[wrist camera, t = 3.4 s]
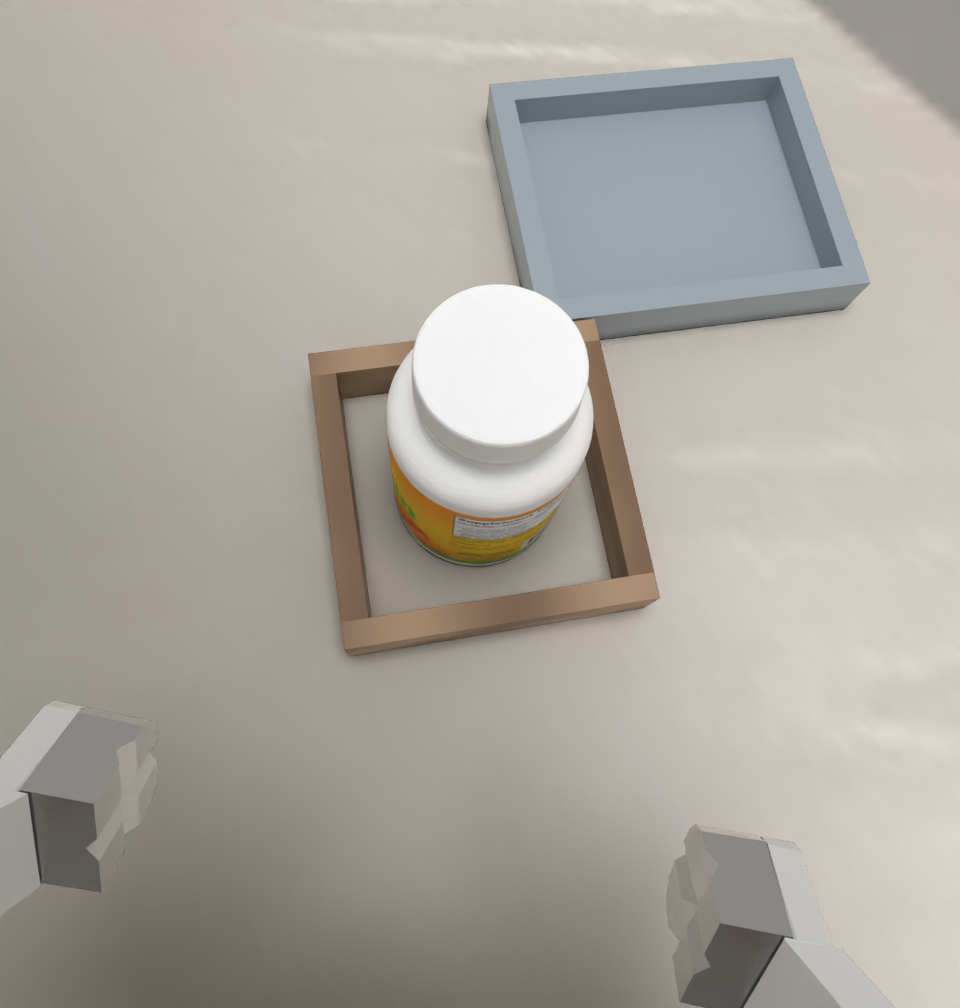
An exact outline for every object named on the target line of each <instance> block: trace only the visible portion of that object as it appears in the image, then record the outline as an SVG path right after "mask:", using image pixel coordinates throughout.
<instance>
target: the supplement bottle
mask: <svg viewBox="0 0 960 1008" xmlns="http://www.w3.org/2000/svg"><path fill="white" fill-rule="evenodd" d="M588 378H589V360H588V354H587V349H586V346H585V343H584V340H583V338H582V335H581V333H580V331H579V330H578V328H577V326H576V325H575V324H574V322H573V321H572V319H571V318H570V317H569V316H568V315H567V314H566V313H565V312H564V311H563V310H562V309H561V308H560V307H559V306H558V305H557V304H555V303H554V302H552V301H551V300H550V299H548V298H546V297H544V296H542V295H540V294H538V293H537V292H534V291H531V290H528V289H525V288H522V287H517V286H512V285H497V284H491V285H483V286H478V287H473V288H470V289H466V290H464V291H462V292H459V293H457V294H455V295H453V296H451V297H450V298H448V299H447V300H445V301H444V302H443V303H441V304H440V305H439V306H438V307H437V308H436V309H435V310H434V311H433V312H432V313H431V314H430V315H429V316H428V318H427V319H426V321H425V322H424V324H423V325H422V327H421V329H420V331H419V333H418V335H417V338H416V341H415V345H414V348H413V349H412V350H411V351H410V352H409V354H408V355H407V356H406V357H405V359H404V360H403V362H402V363H401V365H400V366H399V368H398V370H397V372H396V374H395V376H394V378H393V380H392V383H391V387H390V390H389V394H388V399H387V408H386V429H387V437H388V445H389V453H390V461H391V470H392V476H393V483H394V491H395V498H396V502H397V506H398V510H399V513H400V516H401V518H402V520H403V522H404V524H405V526H406V528H407V529H408V531H409V532H410V534H411V535H412V536H413V537H414V538H415V539H416V541H417V542H418V543H419V544H420V545H422V546H423V547H424V548H425V549H426V550H428V551H429V552H431V553H432V554H434V555H436V556H438V557H440V558H442V559H444V560H447V561H449V562H453V563H456V564H462V565H469V566H485V565H492V564H496V563H500V562H503V561H506V560H508V559H511V558H513V557H514V556H516V555H518V554H520V553H521V552H523V551H524V550H526V549H527V548H528V547H529V546H530V545H531V544H532V543H534V542H535V541H536V539H537V538H538V537H539V536H540V535H541V533H542V532H543V531H544V529H545V528H546V526H547V525H548V523H549V522H550V520H551V518H552V517H553V515H554V513H555V511H556V509H557V508H558V506H559V504H560V502H561V501H562V499H563V498H564V496H565V494H566V492H567V490H568V488H569V487H570V485H571V483H572V482H573V480H574V478H575V477H576V475H577V473H578V471H579V470H580V468H581V466H582V464H583V461H584V459H585V457H586V454H587V452H588V449H589V446H590V442H591V438H592V431H593V418H594V416H593V404H592V398H591V394H590V390H589V387H588Z"/></svg>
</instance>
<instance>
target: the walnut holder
mask: <svg viewBox="0 0 960 1008" xmlns="http://www.w3.org/2000/svg"><path fill="white" fill-rule="evenodd" d="M573 322H574V324H575V325H576V326H577V328H578V330H579V331H580V333H581V335H582V338H583V340H584V343H585V346H586V349H587V354H588V360H589V378H588V387H589V390H590V394H591V398H592V404H593V416H594V418H593V431H592V438H591V442H590V446H589V449H588V452H587V454H586V457H585V458H586V462H587V467H588V471H589V476H590V480H591V485H592V490H593V494H594V499H595V503H596V508H597V512H598V517H599V521H600V526H601V531H602V535H603V540H604V544H605V549H606V553H607V558H608V562H609V567H610V572H611V576H612V579H609V580H603V581H597V582H590V583H584V584H578V585H572V586H566V587H559V588H553V589H547V590H541V591H534V592H528V593H522V594H516V595H509V596H503V597H497V598H491V599H484V600H478V601H472V602H466V603H459V604H453V605H447V606H441V607H434V608H428V609H422V610H416V611H410V612H403V613H397V614H391V615H385V616H378V617H372V618H371V611H370V604H369V596H368V589H367V581H366V574H365V566H364V559H363V551H362V544H361V537H360V529H359V522H358V514H357V507H356V499H355V492H354V484H353V477H352V469H351V462H350V454H349V447H348V439H347V432H346V425H345V417H344V410H343V402H342V398H350V397H357V396H365V395H373V394H381V393H388V392H389V390H390V387H391V383H392V380H393V378H394V376H395V374H396V372H397V370H398V368H399V366H400V365H401V363H402V362H403V360H404V359H405V357H406V356H407V355H408V354H409V352H410V351H411V350H412V349H413V348H414V345H415V341H409V342H401V343H393V344H385V345H376V346H368V347H360V348H352V349H344V350H335V351H327V352H319V353H311V354H308V358H309V366H310V374H311V382H312V391H313V399H314V407H315V415H316V423H317V431H318V439H319V447H320V455H321V464H322V472H323V480H324V488H325V496H326V504H327V512H328V520H329V528H330V536H331V545H332V553H333V561H334V569H335V577H336V585H337V593H338V601H339V609H340V618H341V626H342V634H343V642H344V650H345V651H346V652H347V653H348V654H349V655H350V656H355V655H361V654H367V653H373V652H379V651H385V650H391V649H398V648H404V647H410V646H416V645H422V644H428V643H434V642H440V641H446V640H452V639H458V638H464V637H470V636H476V635H482V634H488V633H494V632H500V631H506V630H513V629H519V628H525V627H531V626H537V625H543V624H549V623H555V622H561V621H567V620H573V619H579V618H585V617H591V616H597V615H603V614H609V613H615V612H621V611H628V610H634V609H640V608H644V607H645V606H647V605H649V604H650V603H652V602H654V601H656V600H657V599H659V598H660V595H659V591H658V587H657V582H656V578H655V574H654V570H653V565H652V561H651V557H650V553H649V548H648V544H647V540H646V536H645V531H644V527H643V523H642V519H641V514H640V510H639V506H638V502H637V497H636V493H635V489H634V484H633V480H632V476H631V472H630V467H629V463H628V459H627V455H626V450H625V446H624V442H623V438H622V433H621V429H620V425H619V421H618V416H617V412H616V408H615V404H614V399H613V395H612V391H611V386H610V382H609V378H608V374H607V369H606V365H605V361H604V357H603V352H602V348H601V344H600V340H599V335H598V331H597V327H596V323H595V319H589V320H581V321H573Z"/></svg>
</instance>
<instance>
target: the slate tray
mask: <svg viewBox="0 0 960 1008" xmlns="http://www.w3.org/2000/svg"><path fill="white" fill-rule="evenodd" d="M486 122H487V127H488V132H489V137H490V142H491V146H492V151H493V156H494V161H495V165H496V170H497V175H498V180H499V185H500V189H501V194H502V199H503V204H504V208H505V213H506V218H507V223H508V228H509V232H510V237H511V242H512V247H513V252H514V256H515V261H516V266H517V271H518V275H519V280H520V285H521V287H522V288H525V289H528V290H531V291H534V292H537V293H538V294H540V295H542V296H544V297H546V298H548V299H550V300H551V301H552V302H554V303H555V304H557V305H558V306H559V307H560V308H561V309H562V310H563V311H564V312H565V313H566V314H567V315H568V316H569V317H570V318H571V319H572V321H581V320H589V319H595V323H596V327H597V331H598V335H599V340H601V339H609V338H617V337H625V336H633V335H641V334H649V333H657V332H665V331H673V330H681V329H689V328H697V327H705V326H713V325H721V324H729V323H737V322H745V321H753V320H761V319H769V318H777V317H785V316H793V315H801V314H809V313H817V312H825V311H833V310H841V309H845V308H846V307H847V306H848V305H849V304H850V303H851V302H852V301H853V300H854V299H855V298H856V297H857V296H858V295H859V294H860V293H861V292H862V291H863V290H864V289H865V288H866V287H867V286H868V285H869V284H870V280H869V277H868V274H867V272H866V269H865V266H864V263H863V260H862V257H861V254H860V251H859V248H858V245H857V243H856V240H855V237H854V234H853V231H852V228H851V225H850V222H849V219H848V216H847V214H846V211H845V208H844V205H843V202H842V199H841V196H840V193H839V190H838V187H837V185H836V182H835V179H834V176H833V173H832V170H831V167H830V164H829V161H828V158H827V156H826V153H825V150H824V147H823V144H822V141H821V138H820V135H819V132H818V129H817V127H816V124H815V121H814V118H813V115H812V112H811V109H810V106H809V103H808V101H807V98H806V95H805V92H804V89H803V86H802V83H801V80H800V77H799V74H798V72H797V69H796V66H795V63H794V60H793V58H787V59H775V60H764V61H752V62H741V63H729V64H718V65H706V66H695V67H683V68H672V69H660V70H649V71H637V72H626V73H614V74H603V75H591V76H580V77H568V78H557V79H545V80H534V81H522V82H511V83H499V84H490V86H489V96H488V106H487V116H486Z"/></svg>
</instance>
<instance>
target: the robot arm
mask: <svg viewBox="0 0 960 1008" xmlns="http://www.w3.org/2000/svg"><path fill="white" fill-rule="evenodd" d="M156 741H157V730H156V723H154V722H152V721H149V720H144V719H140V718H135V717H131V716H126V715H122V714H117V713H112V712H108V711H103V710H99V709H94V708H90V707H83V706H78V705H73V704H69V703H64V702H59V701H55V700H54V701H52V702H50V703H49V704H47V705H45V706H44V707H42V708H41V710H40V711H39V712H38V713H37V714H36V716H35V717H34V718H33V719H32V720H31V722H30V723H29V724H28V725H27V726H26V728H25V729H24V730H23V731H22V732H21V734H20V735H19V736H18V737H17V739H16V740H15V741H14V742H13V743H12V745H11V746H10V747H9V748H8V749H7V751H6V752H5V753H4V754H3V755H2V757H1V758H0V916H1V915H3V914H4V913H5V912H7V911H8V910H9V909H11V908H12V907H14V906H15V905H16V904H18V903H19V902H20V901H22V900H23V899H24V898H26V897H27V896H28V895H30V894H31V893H33V892H34V891H35V890H37V889H38V888H39V887H40V886H41V884H40V883H45V884H51V885H58V886H64V887H70V888H76V889H83V890H89V891H95V892H102V890H103V889H104V887H105V885H106V883H107V882H108V880H109V878H110V876H111V875H112V873H113V871H114V869H115V868H116V866H117V864H118V862H119V861H120V859H121V857H122V855H123V854H124V835H125V834H126V833H128V832H130V831H131V830H133V829H134V828H136V827H138V826H139V825H140V823H141V821H142V819H143V818H144V816H145V814H146V812H147V810H148V808H149V805H150V803H151V800H152V797H153V794H154V791H155V788H156V782H157V776H158V761H157V760H156V759H155V757H154V756H153V755H152V754H151V752H150V751H151V749H152V748H153V746H154V744H155V743H156ZM684 841H685V847H686V853H687V854H686V855H684V856H682V857H681V858H679V859H677V860H675V863H674V866H673V868H672V871H671V873H670V876H669V882H668V889H667V915H668V923H669V927H670V929H671V930H672V931H673V933H674V934H675V935H676V937H677V938H678V939H679V941H680V942H679V944H678V946H677V948H676V951H675V953H674V955H673V960H674V967H675V973H676V980H677V987H678V994H679V1001H680V1002H682V1003H686V1004H691V1005H695V1006H700V1007H704V1008H896V1007H895V1006H894V1005H893V1004H892V1003H891V1002H890V1000H889V999H888V998H887V997H886V996H885V995H884V994H883V993H882V992H881V991H880V989H879V988H878V987H877V986H876V985H875V984H874V983H873V982H872V981H871V979H870V978H869V977H868V976H867V975H866V974H865V973H864V972H863V971H862V970H861V968H860V967H859V966H858V965H857V964H856V963H855V962H854V961H853V960H852V958H851V957H850V956H849V955H848V954H847V953H846V952H845V951H844V950H843V949H841V948H837V947H833V946H832V943H831V940H830V937H829V934H828V931H827V928H826V925H825V922H824V919H823V916H822V913H821V910H820V907H819V904H818V901H817V898H816V895H815V892H814V889H813V886H812V883H811V880H810V877H809V874H808V871H807V868H806V865H805V862H804V859H803V856H802V853H801V850H800V849H799V847H798V846H797V845H796V844H795V843H793V842H788V841H783V840H777V839H772V838H766V837H759V836H757V835H752V834H746V833H741V832H735V831H730V830H724V829H718V828H713V827H707V826H702V825H696V824H695V825H694V826H693V827H692V828H691V829H690V830H689V832H688V834H687V836H686V838H685V840H684Z"/></svg>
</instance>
